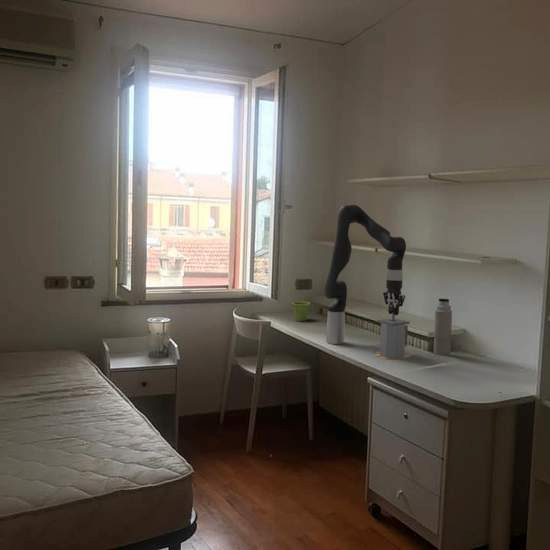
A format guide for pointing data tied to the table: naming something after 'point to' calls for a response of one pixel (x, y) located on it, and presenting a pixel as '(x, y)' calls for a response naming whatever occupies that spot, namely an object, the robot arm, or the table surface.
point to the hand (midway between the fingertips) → (393, 314)
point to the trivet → (406, 356)
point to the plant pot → (300, 310)
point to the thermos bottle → (443, 328)
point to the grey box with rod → (393, 337)
